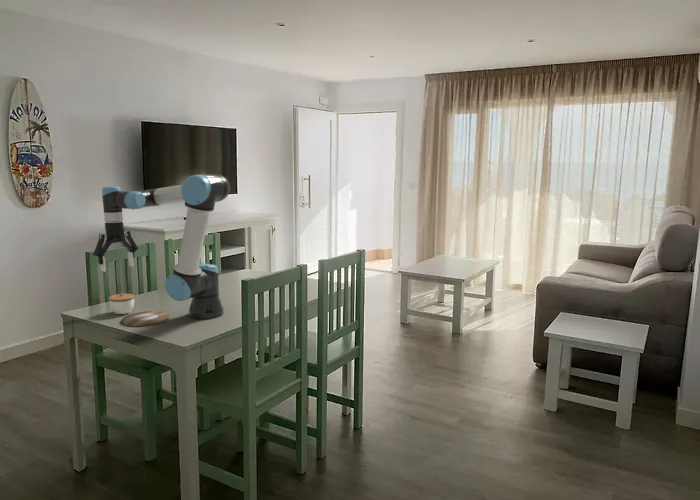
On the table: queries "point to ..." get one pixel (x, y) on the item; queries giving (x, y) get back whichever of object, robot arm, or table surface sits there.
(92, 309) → the table surface
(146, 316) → the plate
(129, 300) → the lidded jar
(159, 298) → the table surface
